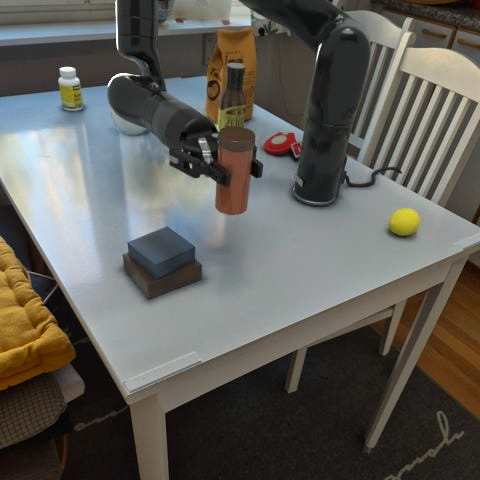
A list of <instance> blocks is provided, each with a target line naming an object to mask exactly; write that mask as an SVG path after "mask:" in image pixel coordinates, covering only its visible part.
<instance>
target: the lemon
mask: <svg viewBox="0 0 480 480" xmlns="http://www.w3.org/2000/svg"><path fill="white" fill-rule="evenodd" d="M420 225H421V217H420V215H419V213H418V212H417V211H416V210H414V209H413V208H408V207H404V208H400V209H397V210H396V211H395V212H393V213H392V214H391V216H390V218H389V221H388V227H389V229H390V230H391V232H393V233H394V234H395V235H398V236H411V235H412V234H414V233H415V232H416V231H417V230H419V228H420Z"/></svg>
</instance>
